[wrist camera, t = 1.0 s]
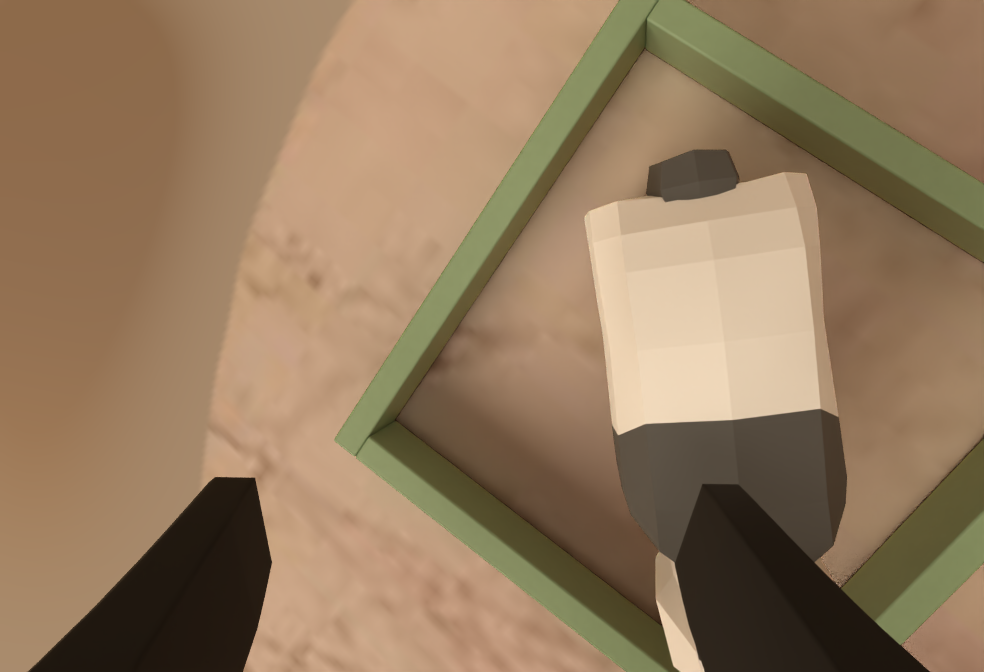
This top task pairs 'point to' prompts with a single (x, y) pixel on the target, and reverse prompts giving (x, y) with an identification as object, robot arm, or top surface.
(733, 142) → the top surface
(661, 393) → the giant panda
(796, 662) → the robot arm
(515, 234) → the rim
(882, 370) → the top surface
